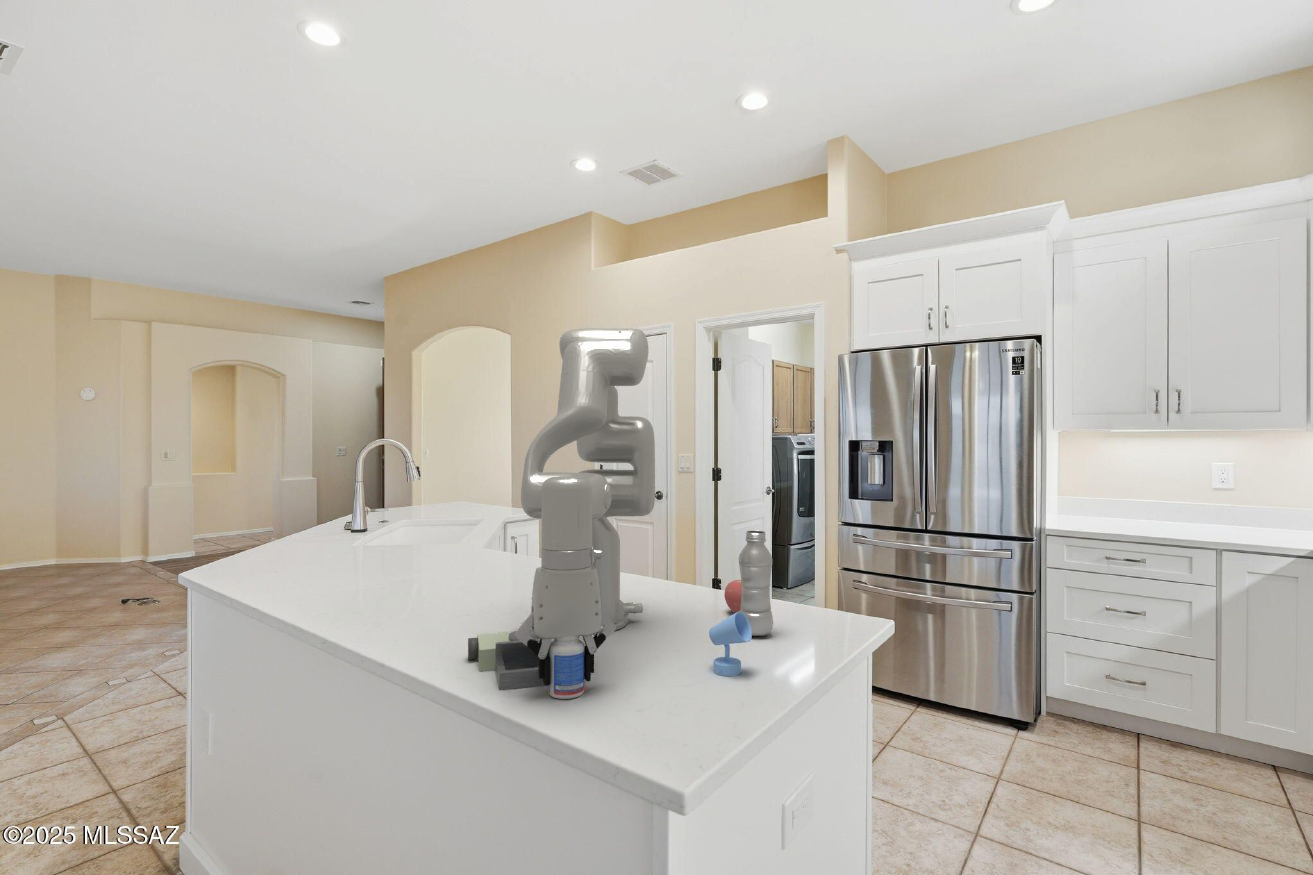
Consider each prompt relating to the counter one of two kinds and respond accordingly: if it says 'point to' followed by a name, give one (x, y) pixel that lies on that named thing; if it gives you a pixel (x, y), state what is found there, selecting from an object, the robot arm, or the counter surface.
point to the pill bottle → (566, 667)
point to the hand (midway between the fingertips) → (566, 679)
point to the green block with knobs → (490, 647)
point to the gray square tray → (516, 665)
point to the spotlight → (730, 642)
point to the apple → (734, 595)
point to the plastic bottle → (756, 583)
